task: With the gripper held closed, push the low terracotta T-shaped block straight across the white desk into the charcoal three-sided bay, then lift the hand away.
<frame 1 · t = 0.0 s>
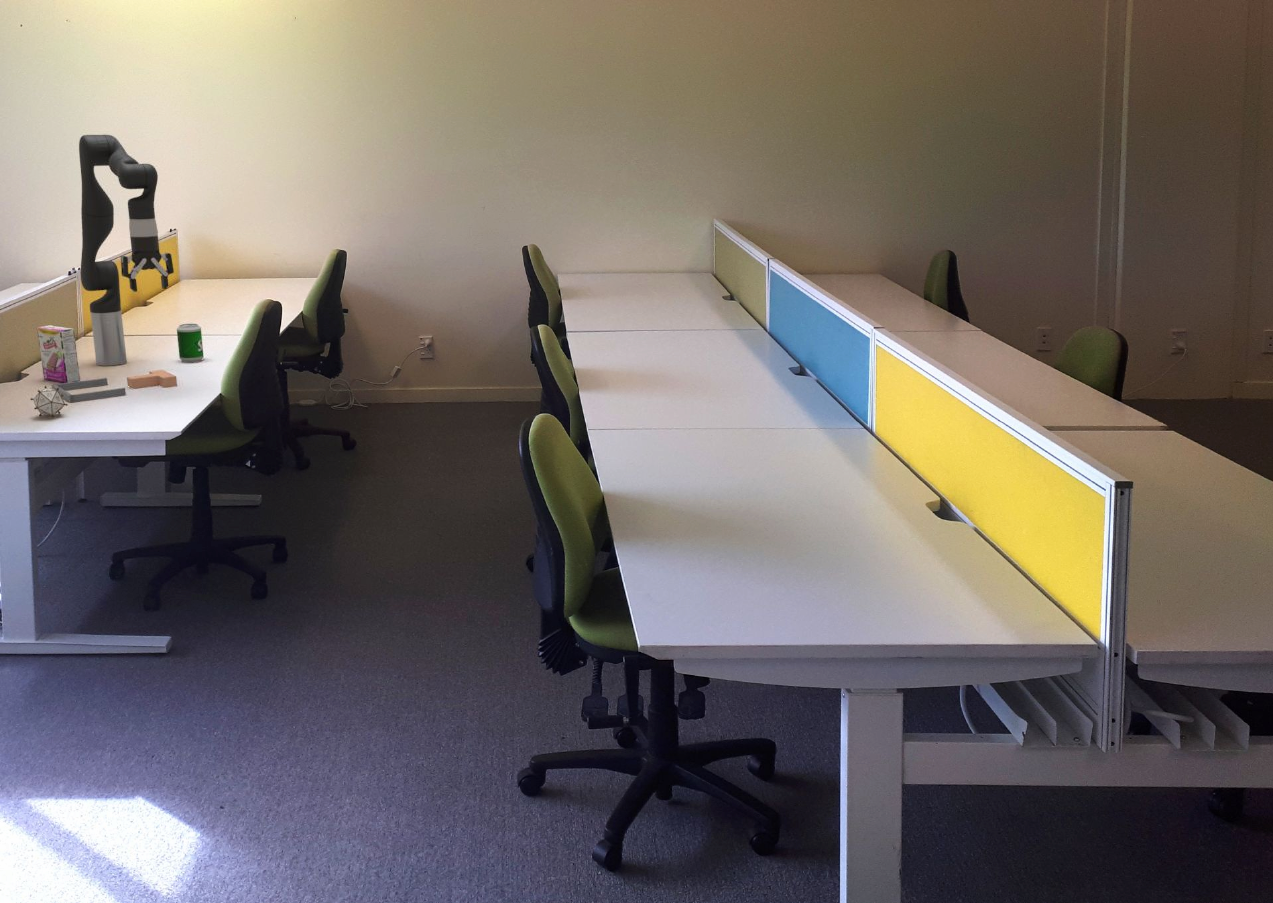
hand: (149, 290, 357), 29 cm above the table, tool pointing down, fingers open, 8 cm apart
T block: (150, 385, 368), on the table
charcoal bay: (91, 392, 358), on the table
candy bar box: (62, 381, 374), on the table
soda can: (192, 361, 403), on the table
game die: (51, 416, 331), on the table
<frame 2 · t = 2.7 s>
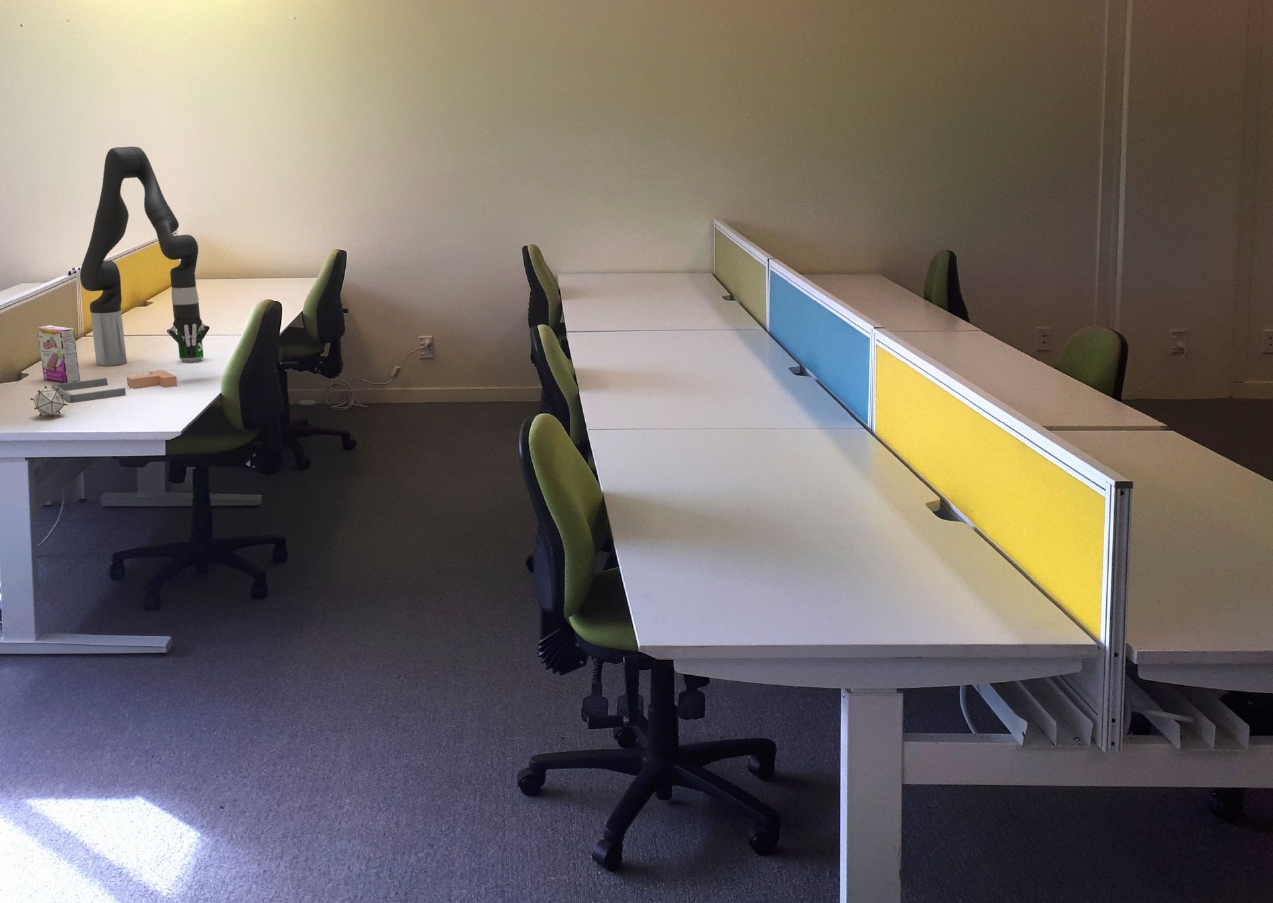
hand: (191, 357, 374), 7 cm above the table, tool pointing down, fingers closed
nothing on the table moved.
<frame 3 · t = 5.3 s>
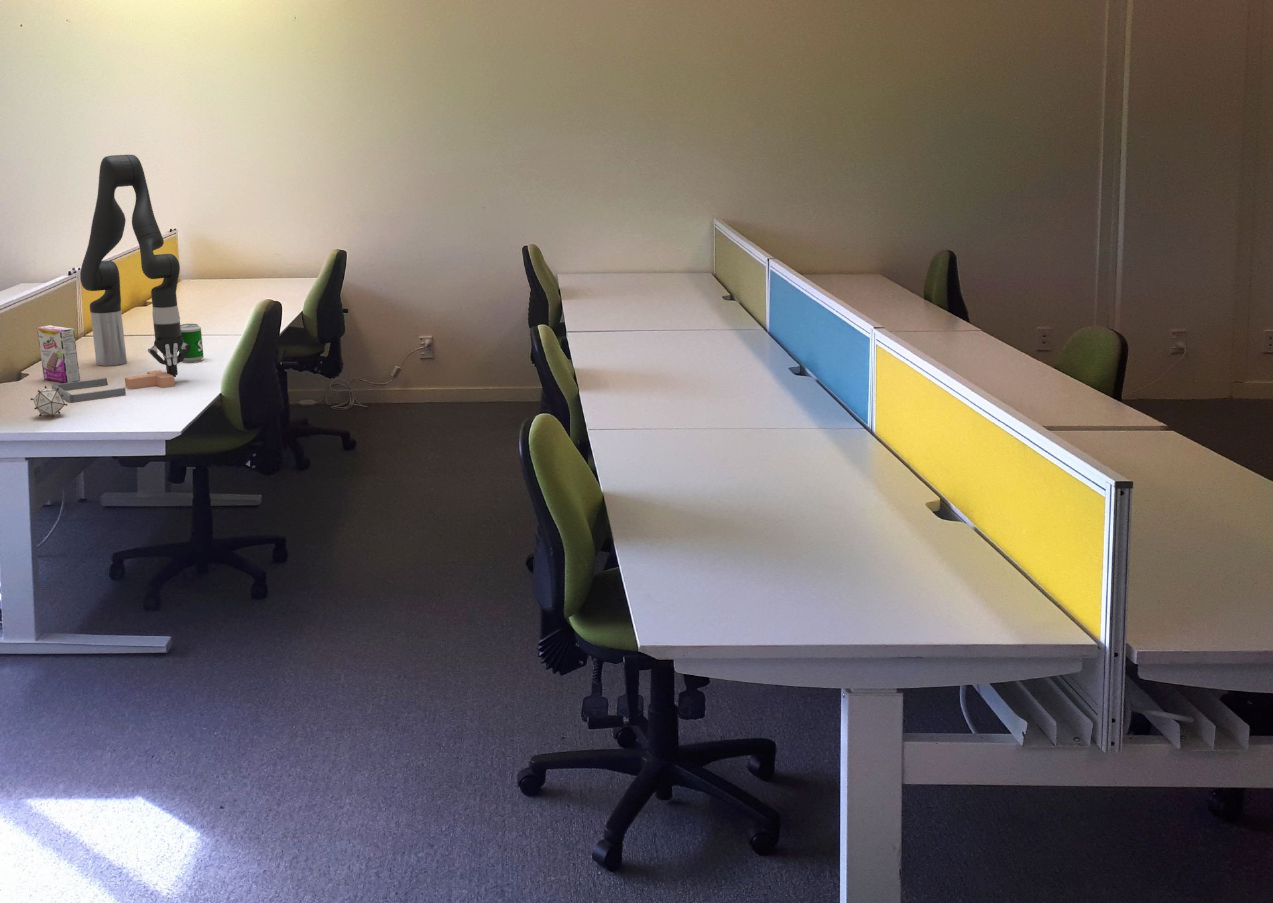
hand: (172, 376, 372), 2 cm above the table, tool pointing down, fingers closed
T block: (148, 385, 368), on the table, touching gripper
everything else where it was.
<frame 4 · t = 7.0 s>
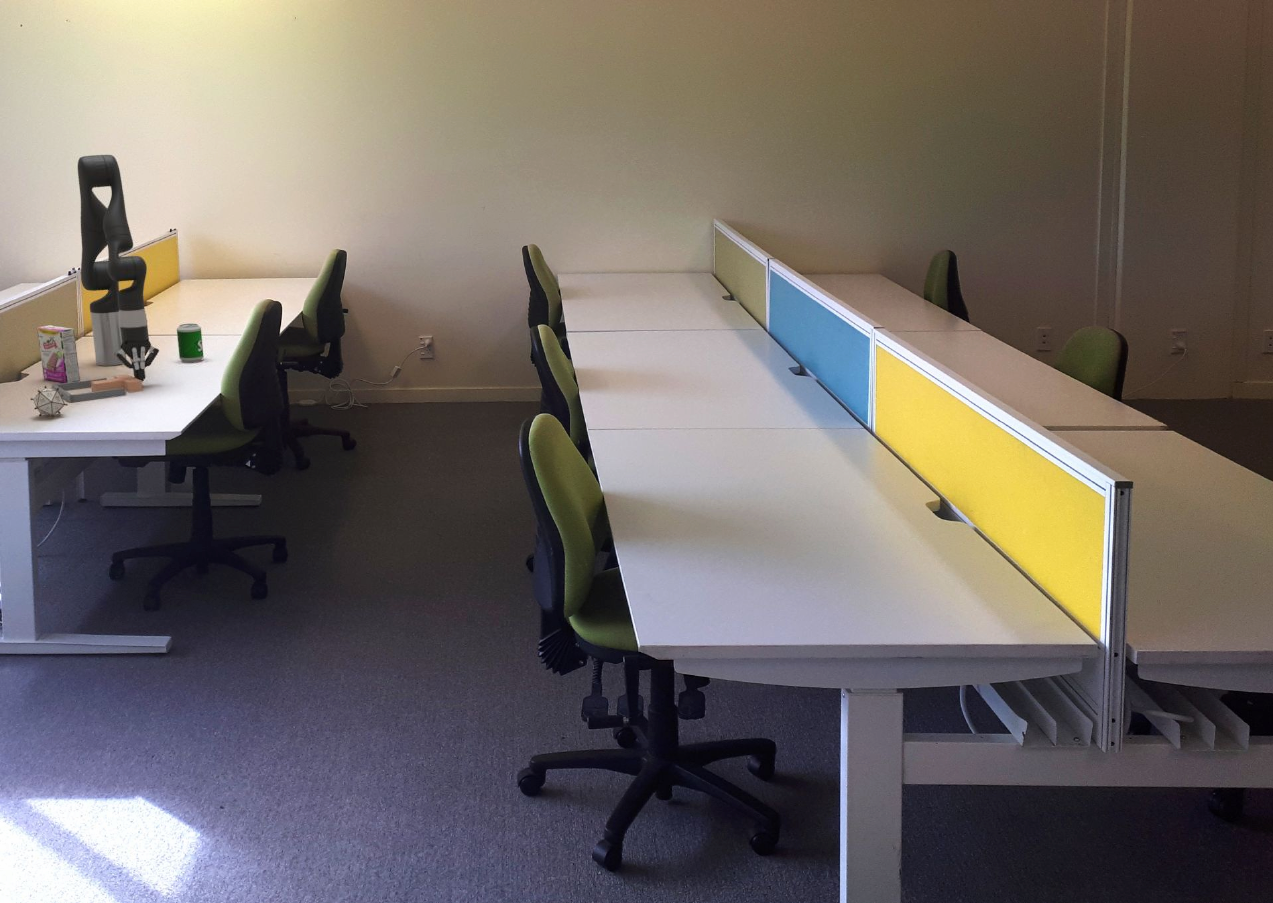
hand: (140, 381, 366), 2 cm above the table, tool pointing down, fingers closed
T block: (115, 389, 361), on the table, touching gripper
everything else where it was.
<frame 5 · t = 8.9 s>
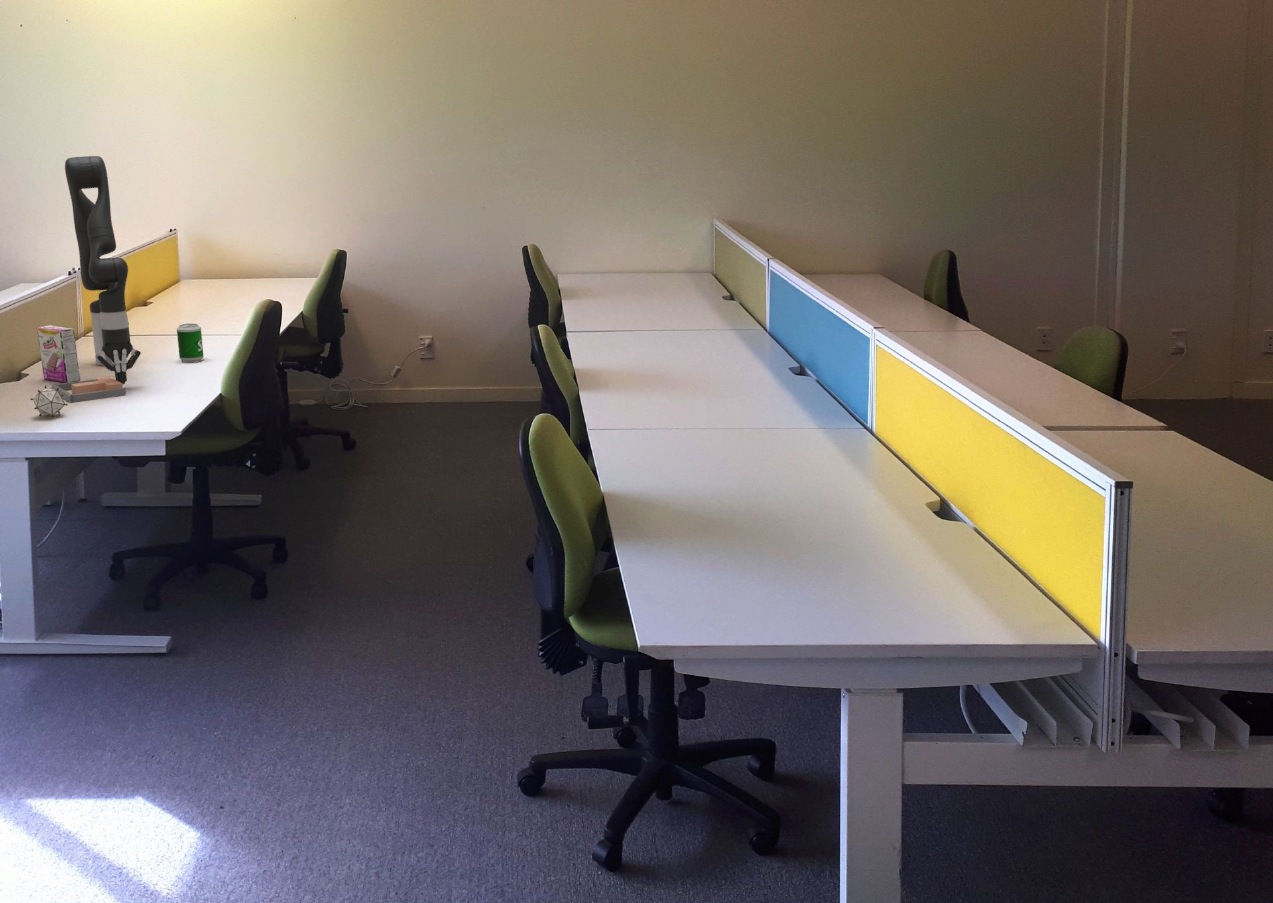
hand: (121, 383, 363), 2 cm above the table, tool pointing down, fingers closed
T block: (95, 392, 358), on the table, touching gripper
everything else where it was.
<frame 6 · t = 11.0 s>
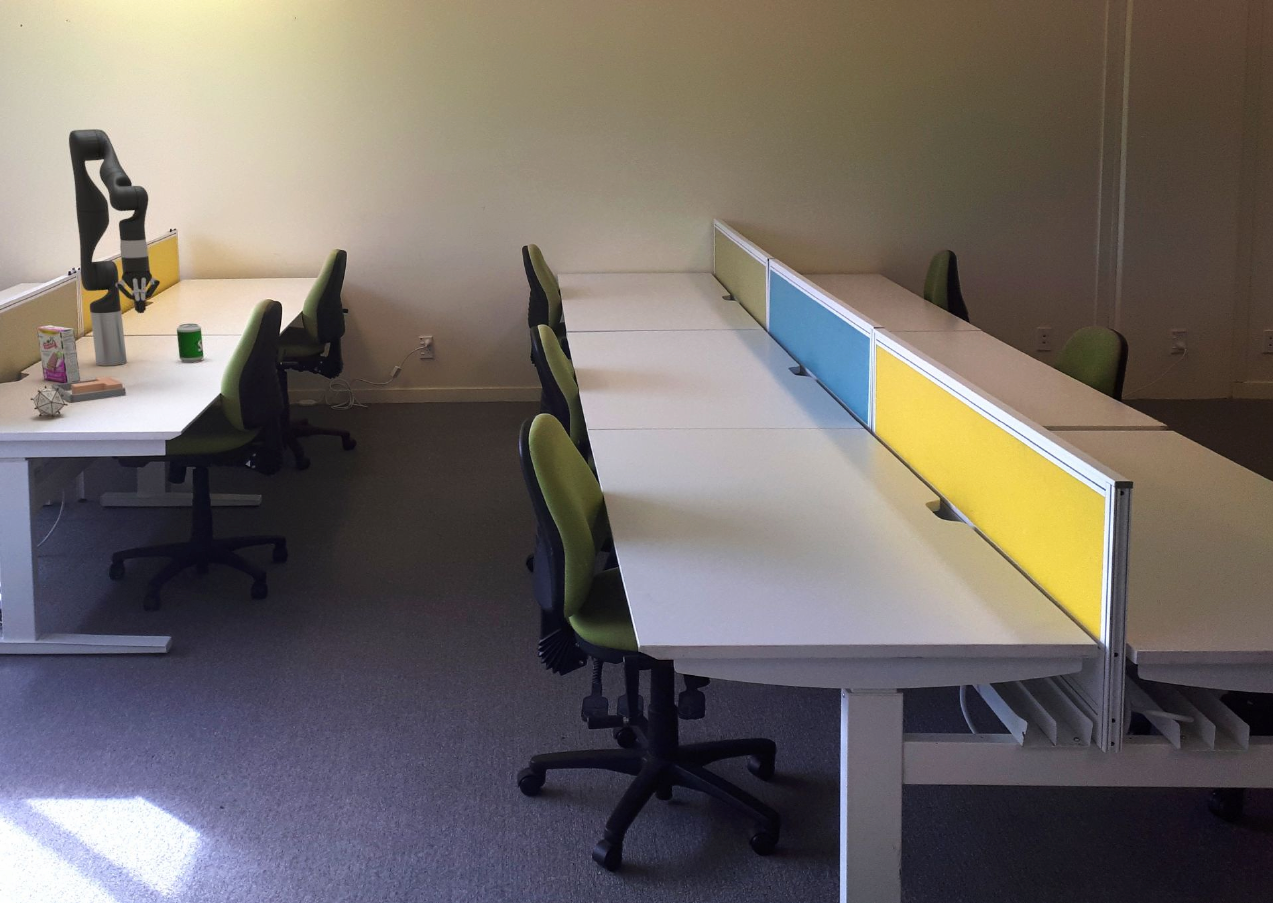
hand: (140, 312, 365), 22 cm above the table, tool pointing down, fingers closed
T block: (95, 392, 358), on the table
everything else where it was.
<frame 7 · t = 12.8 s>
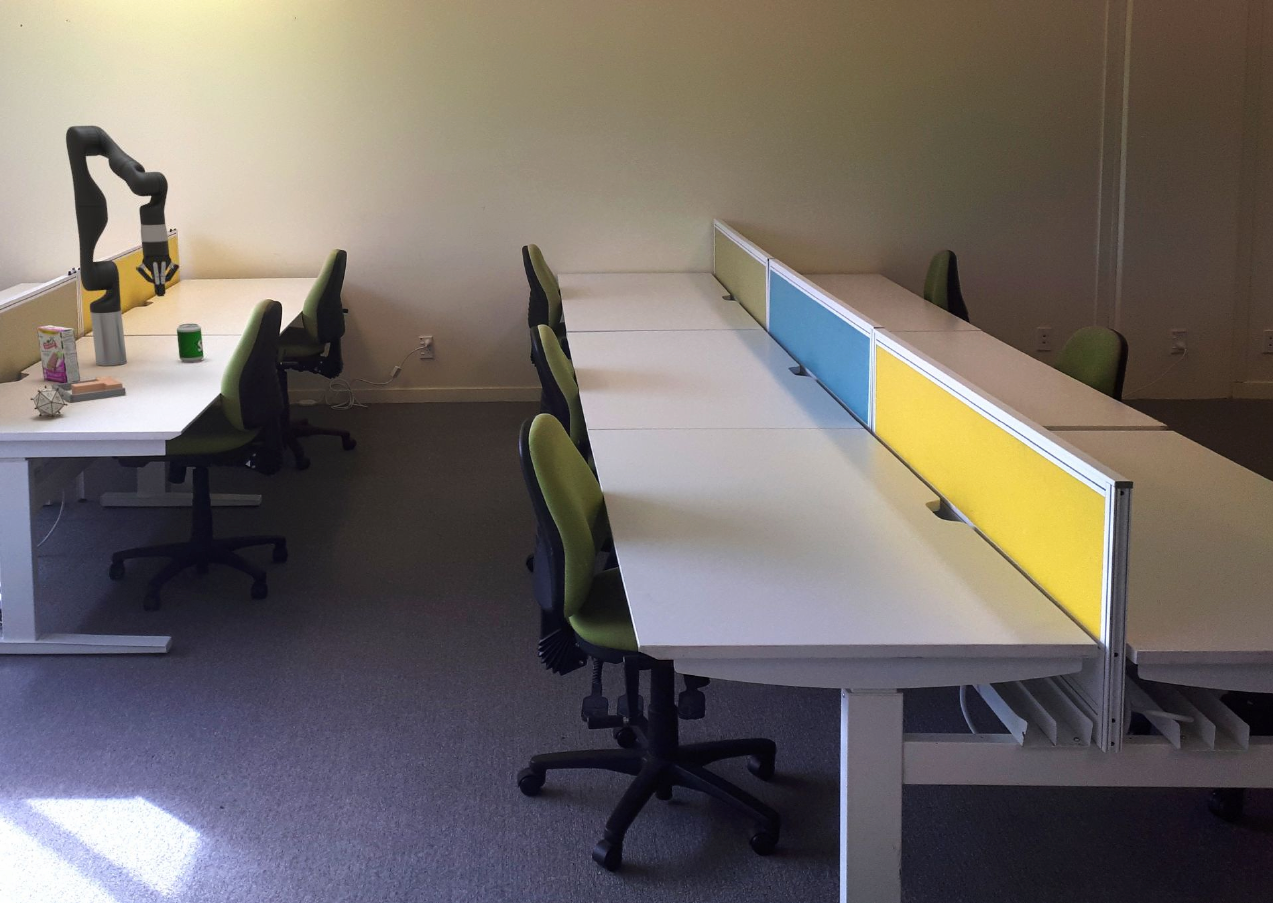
hand: (160, 296, 374), 25 cm above the table, tool pointing down, fingers closed
nothing on the table moved.
at the end: T block inside the target area on the charcoal bay (1.4 cm from its centre), point 0.0 cm above the charcoal bay's base; T block tilted 0°; T block moved 15.9 cm from its start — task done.
